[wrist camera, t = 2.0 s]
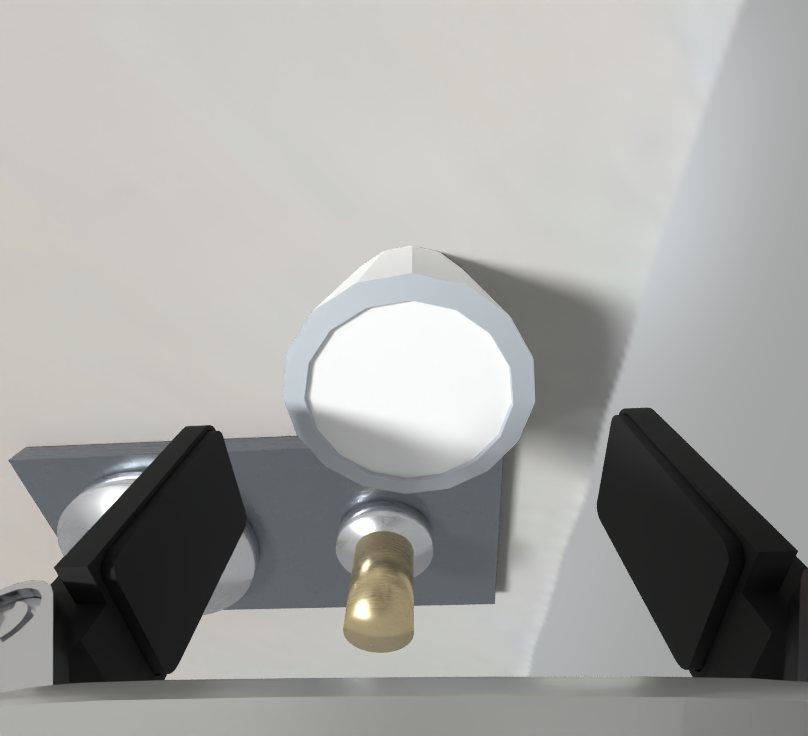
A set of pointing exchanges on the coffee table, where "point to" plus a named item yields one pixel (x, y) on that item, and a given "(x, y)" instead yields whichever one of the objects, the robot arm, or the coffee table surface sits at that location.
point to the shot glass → (409, 376)
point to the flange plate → (305, 532)
